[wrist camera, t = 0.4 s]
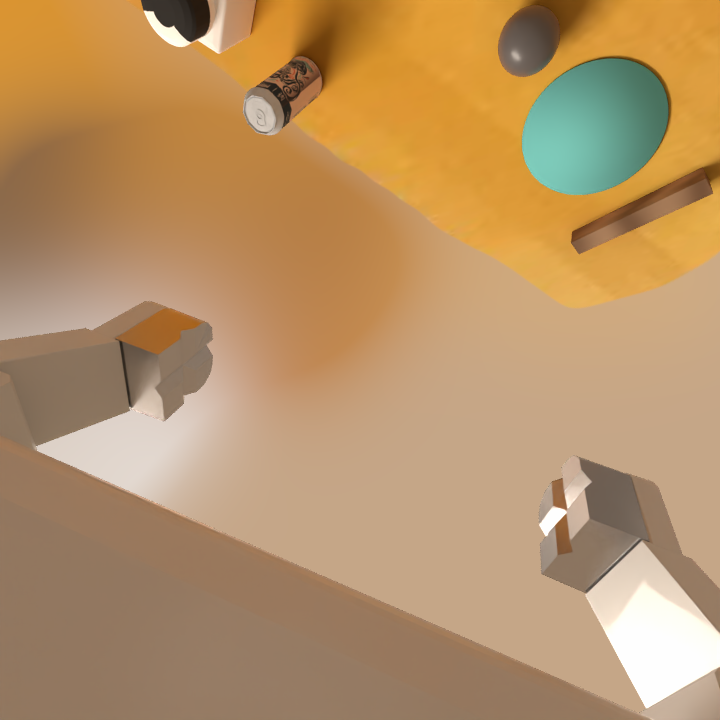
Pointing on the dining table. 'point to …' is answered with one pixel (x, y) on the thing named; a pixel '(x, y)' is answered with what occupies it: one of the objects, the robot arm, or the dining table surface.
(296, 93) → the beer can
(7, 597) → the robot arm
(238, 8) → the medicine bottle
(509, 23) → the dark grey ball
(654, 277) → the dining table surface
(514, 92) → the dining table surface
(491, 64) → the dining table surface
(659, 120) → the teal mark
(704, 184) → the walnut rail
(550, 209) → the dining table surface
